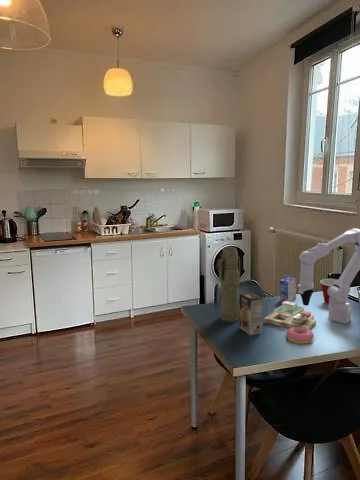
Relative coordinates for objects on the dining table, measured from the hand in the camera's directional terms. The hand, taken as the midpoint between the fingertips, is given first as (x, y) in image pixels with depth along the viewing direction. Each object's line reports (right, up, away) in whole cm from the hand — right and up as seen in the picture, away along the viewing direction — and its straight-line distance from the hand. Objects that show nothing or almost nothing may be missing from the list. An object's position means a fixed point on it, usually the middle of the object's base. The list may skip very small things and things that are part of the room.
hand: (305, 304), depth 172 cm
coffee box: (-28, -10, -10) cm, 32 cm away
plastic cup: (+22, -3, +25) cm, 33 cm away
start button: (0, -6, +1) cm, 6 cm away
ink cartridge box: (0, -3, +30) cm, 30 cm away
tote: (-5, -6, +10) cm, 12 cm away
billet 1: (-5, -6, +10) cm, 12 cm away
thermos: (-35, -8, +4) cm, 36 cm away
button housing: (0, -7, +1) cm, 7 cm away
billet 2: (-5, -9, -7) cm, 12 cm away
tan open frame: (-9, -8, -4) cm, 13 cm away
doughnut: (-10, -11, -20) cm, 25 cm away
